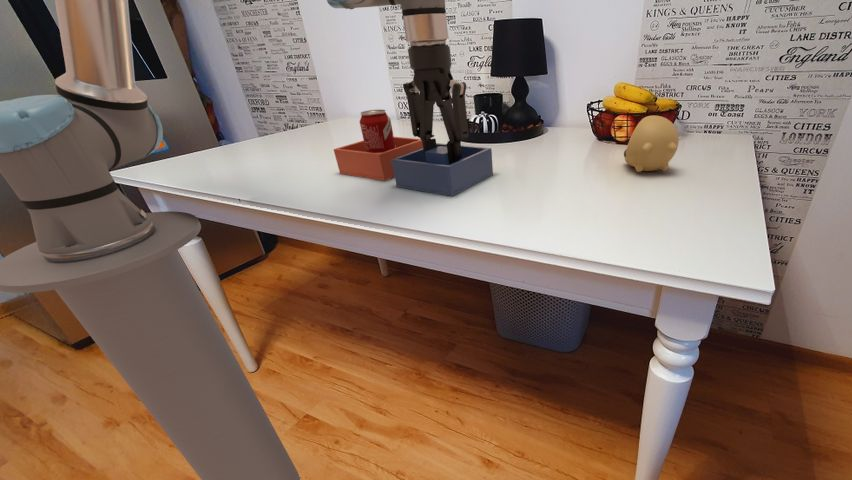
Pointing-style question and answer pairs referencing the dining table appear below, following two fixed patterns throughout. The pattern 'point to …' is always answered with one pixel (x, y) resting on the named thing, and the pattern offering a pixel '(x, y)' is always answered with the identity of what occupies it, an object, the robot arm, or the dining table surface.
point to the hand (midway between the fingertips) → (445, 172)
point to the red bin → (373, 158)
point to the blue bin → (443, 171)
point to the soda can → (377, 131)
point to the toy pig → (652, 144)
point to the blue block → (437, 156)
